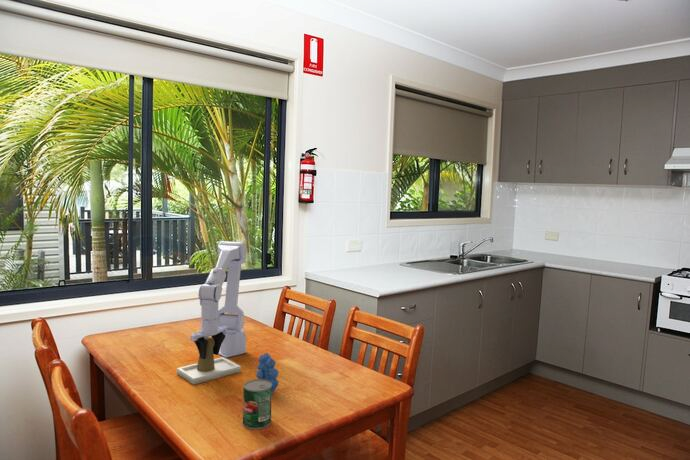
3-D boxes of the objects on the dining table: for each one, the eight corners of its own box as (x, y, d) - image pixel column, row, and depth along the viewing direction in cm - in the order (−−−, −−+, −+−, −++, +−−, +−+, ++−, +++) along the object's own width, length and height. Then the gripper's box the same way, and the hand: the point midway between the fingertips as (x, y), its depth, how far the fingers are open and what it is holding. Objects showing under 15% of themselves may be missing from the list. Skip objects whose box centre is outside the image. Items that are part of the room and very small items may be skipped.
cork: (211, 372, 170) (213, 341, 169) (194, 370, 171) (196, 340, 169) (216, 365, 176) (218, 336, 175) (199, 364, 177) (201, 334, 175)
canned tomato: (236, 425, 136) (237, 387, 135) (252, 413, 143) (252, 377, 142) (262, 431, 133) (262, 392, 132) (276, 419, 140) (277, 382, 139)
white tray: (223, 362, 183) (223, 357, 183) (240, 371, 175) (240, 366, 174) (177, 373, 171) (177, 368, 170) (193, 384, 162) (193, 378, 162)
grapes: (247, 386, 162) (248, 351, 161) (266, 382, 166) (266, 348, 165) (263, 400, 152) (264, 362, 151) (282, 395, 156) (283, 358, 155)
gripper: (219, 312, 179) (218, 348, 180) (184, 320, 167) (184, 359, 169) (231, 315, 175) (231, 353, 176) (197, 324, 163) (197, 363, 164)
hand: (209, 356), depth 172 cm, fingers closed on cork, 5 cm apart
